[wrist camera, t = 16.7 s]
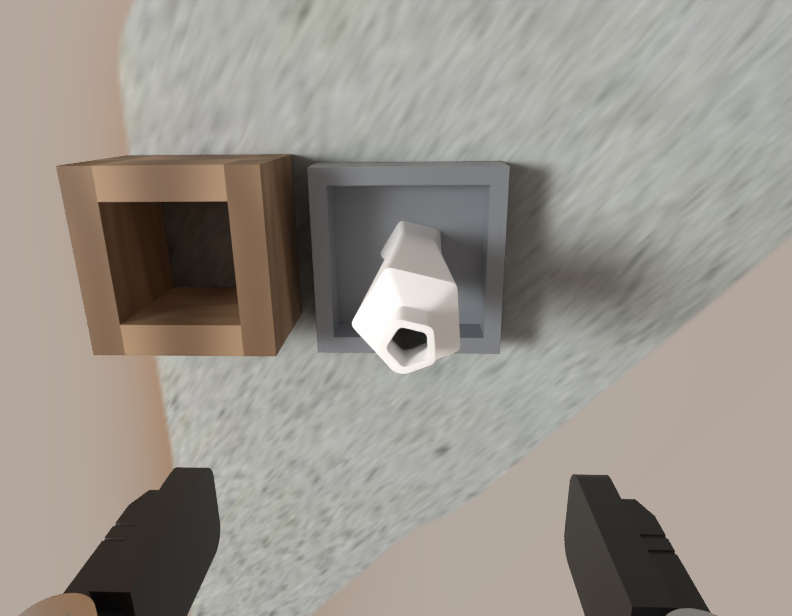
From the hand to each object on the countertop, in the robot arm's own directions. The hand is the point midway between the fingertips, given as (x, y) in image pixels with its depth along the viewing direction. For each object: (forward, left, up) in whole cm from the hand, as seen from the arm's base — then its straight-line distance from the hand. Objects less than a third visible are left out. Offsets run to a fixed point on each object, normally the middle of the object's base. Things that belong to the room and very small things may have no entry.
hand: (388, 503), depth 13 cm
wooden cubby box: (+12, -1, -24) cm, 27 cm away
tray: (0, 0, -24) cm, 24 cm away
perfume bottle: (0, 0, -24) cm, 24 cm away
